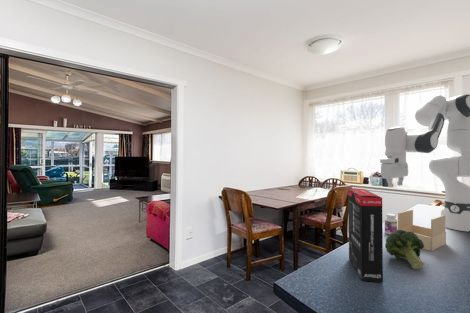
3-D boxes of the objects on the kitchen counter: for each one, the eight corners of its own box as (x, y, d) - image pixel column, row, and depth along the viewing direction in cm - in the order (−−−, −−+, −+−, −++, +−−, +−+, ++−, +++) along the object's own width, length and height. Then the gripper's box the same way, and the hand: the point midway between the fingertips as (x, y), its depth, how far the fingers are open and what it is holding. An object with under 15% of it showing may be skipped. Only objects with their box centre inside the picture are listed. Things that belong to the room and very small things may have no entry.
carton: (412, 235, 120) (412, 209, 120) (445, 244, 109) (446, 215, 109) (396, 241, 112) (397, 213, 112) (431, 251, 101) (432, 219, 101)
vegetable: (391, 263, 84) (374, 232, 98) (409, 283, 88) (390, 250, 101) (427, 248, 80) (404, 217, 93) (444, 270, 83) (419, 237, 97)
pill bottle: (382, 231, 126) (382, 213, 126) (391, 231, 126) (391, 213, 126) (389, 235, 121) (389, 215, 120) (399, 235, 121) (399, 215, 121)
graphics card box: (384, 284, 75) (385, 195, 75) (360, 282, 76) (360, 195, 76) (366, 260, 92) (366, 188, 92) (346, 259, 93) (347, 187, 93)
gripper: (398, 158, 131) (398, 183, 131) (378, 159, 120) (378, 187, 121) (411, 158, 126) (411, 185, 126) (392, 159, 115) (392, 189, 115)
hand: (395, 186), depth 123 cm, fingers open, 8 cm apart
